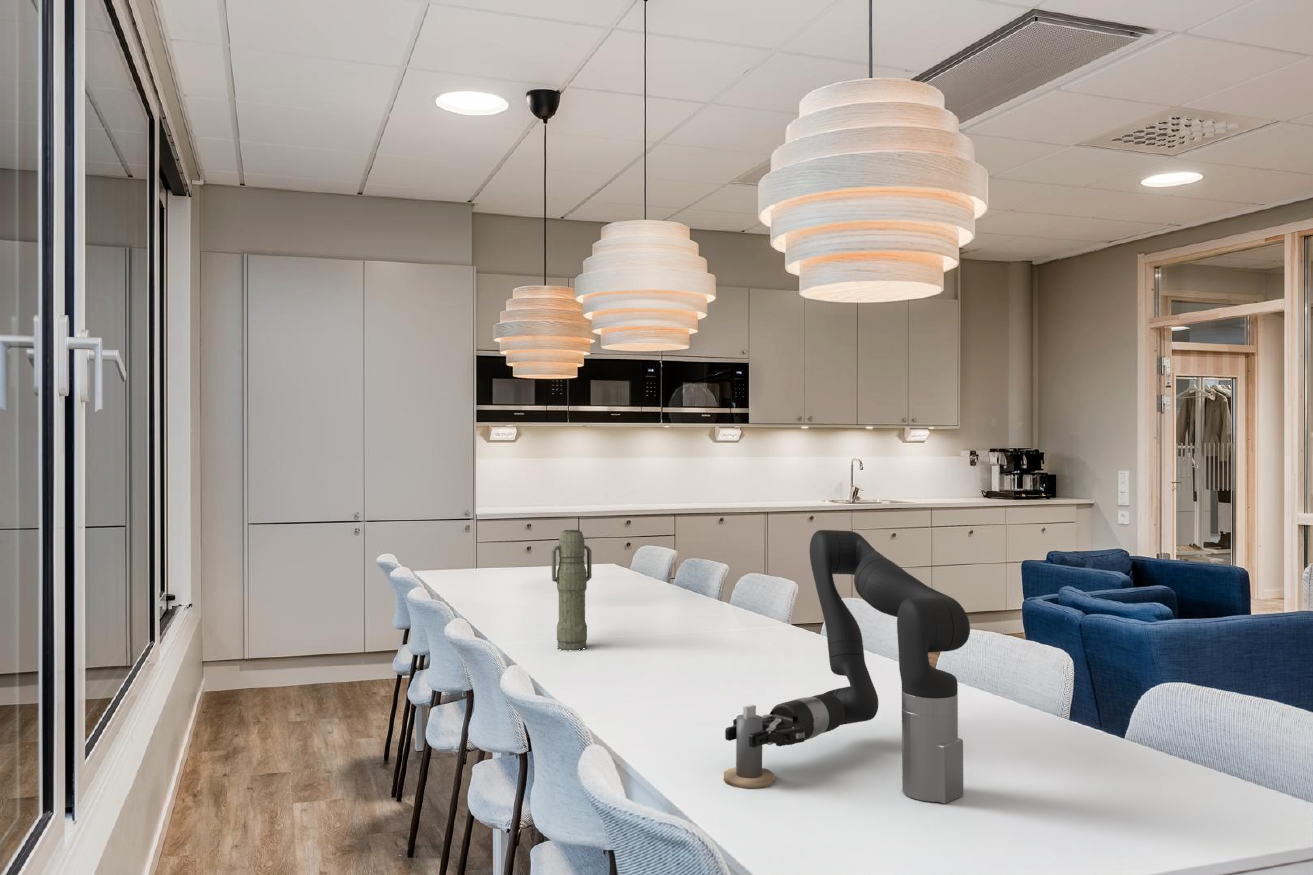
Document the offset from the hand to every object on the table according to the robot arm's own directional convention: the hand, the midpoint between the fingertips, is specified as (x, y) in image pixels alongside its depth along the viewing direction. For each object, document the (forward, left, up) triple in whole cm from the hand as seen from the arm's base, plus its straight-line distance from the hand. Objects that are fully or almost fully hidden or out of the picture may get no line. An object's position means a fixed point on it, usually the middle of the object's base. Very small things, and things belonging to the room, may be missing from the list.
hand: (738, 737), depth 176 cm
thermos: (+116, -55, -8) cm, 128 cm away
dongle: (0, -3, -7) cm, 7 cm away
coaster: (0, -3, -8) cm, 8 cm away
